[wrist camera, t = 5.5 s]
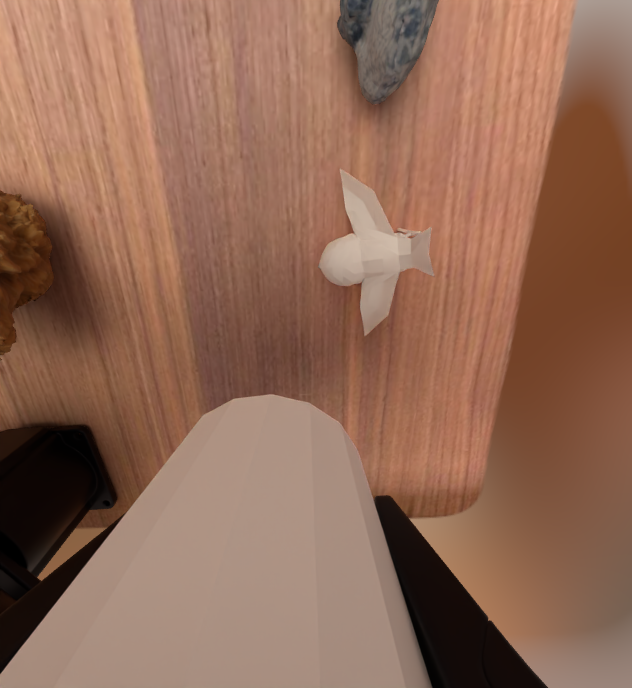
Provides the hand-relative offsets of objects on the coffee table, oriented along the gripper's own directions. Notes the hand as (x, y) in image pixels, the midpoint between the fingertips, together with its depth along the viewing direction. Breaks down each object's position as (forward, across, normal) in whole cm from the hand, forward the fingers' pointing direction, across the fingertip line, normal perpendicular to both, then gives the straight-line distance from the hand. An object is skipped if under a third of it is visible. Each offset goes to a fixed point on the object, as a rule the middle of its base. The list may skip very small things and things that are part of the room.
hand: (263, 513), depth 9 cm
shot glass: (+2, 0, 0) cm, 2 cm away
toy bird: (+11, -4, -5) cm, 13 cm away
